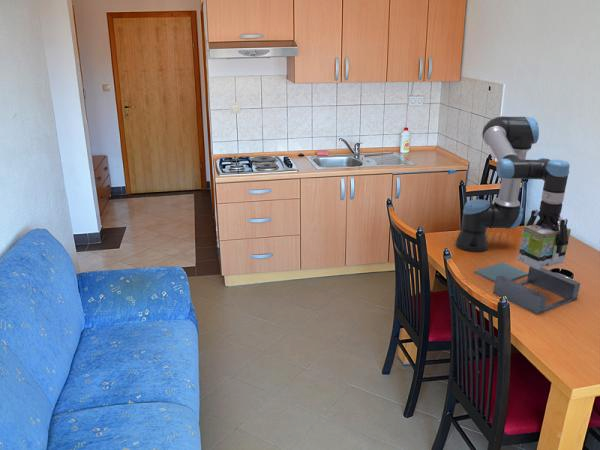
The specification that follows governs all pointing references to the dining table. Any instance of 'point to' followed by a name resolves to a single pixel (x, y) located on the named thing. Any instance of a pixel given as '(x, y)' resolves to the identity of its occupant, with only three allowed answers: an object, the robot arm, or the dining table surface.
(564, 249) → the tea box
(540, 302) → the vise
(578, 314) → the dining table surface
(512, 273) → the mat
